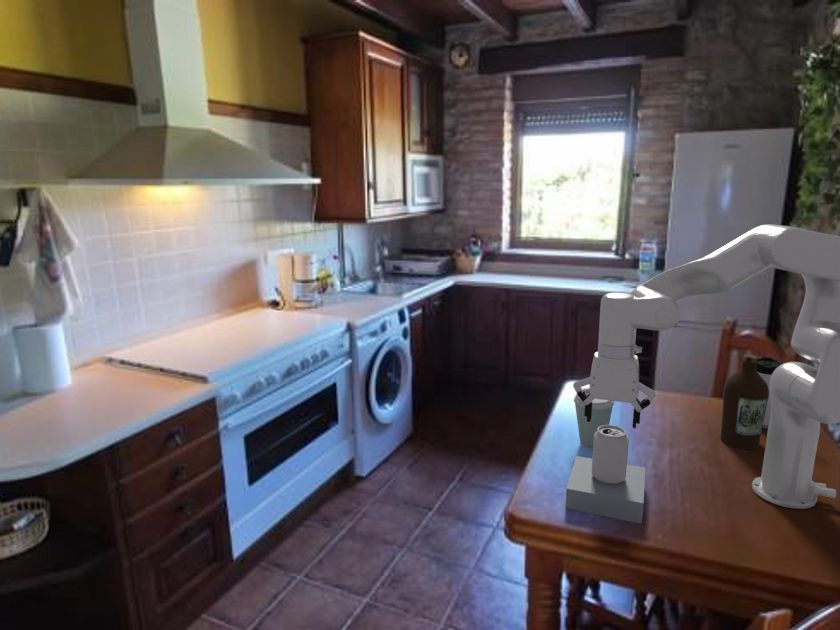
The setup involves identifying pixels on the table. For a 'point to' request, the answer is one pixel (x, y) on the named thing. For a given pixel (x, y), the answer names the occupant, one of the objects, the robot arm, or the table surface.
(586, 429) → the disposable coffee cup
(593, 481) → the grey block
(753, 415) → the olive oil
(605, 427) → the can
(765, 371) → the travel mug
